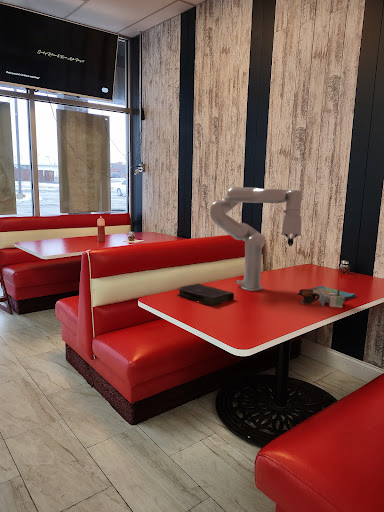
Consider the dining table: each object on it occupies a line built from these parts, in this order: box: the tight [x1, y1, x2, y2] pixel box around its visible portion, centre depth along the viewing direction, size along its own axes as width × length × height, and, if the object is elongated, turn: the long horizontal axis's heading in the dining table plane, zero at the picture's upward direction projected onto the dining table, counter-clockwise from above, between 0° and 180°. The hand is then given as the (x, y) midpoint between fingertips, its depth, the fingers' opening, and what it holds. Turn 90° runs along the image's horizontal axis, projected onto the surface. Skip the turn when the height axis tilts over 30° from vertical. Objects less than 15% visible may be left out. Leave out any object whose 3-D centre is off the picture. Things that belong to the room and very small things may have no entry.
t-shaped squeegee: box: [318, 288, 345, 307], centre depth 199 cm, size 12×13×8 cm
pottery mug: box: [296, 288, 320, 306], centre depth 201 cm, size 12×10×8 cm
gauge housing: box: [327, 293, 344, 309], centre depth 199 cm, size 6×10×5 cm, turn 168°
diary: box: [176, 283, 235, 307], centre depth 204 cm, size 19×25×5 cm
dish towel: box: [309, 285, 357, 301], centre depth 218 cm, size 17×23×2 cm
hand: (290, 245), depth 214 cm, fingers closed
